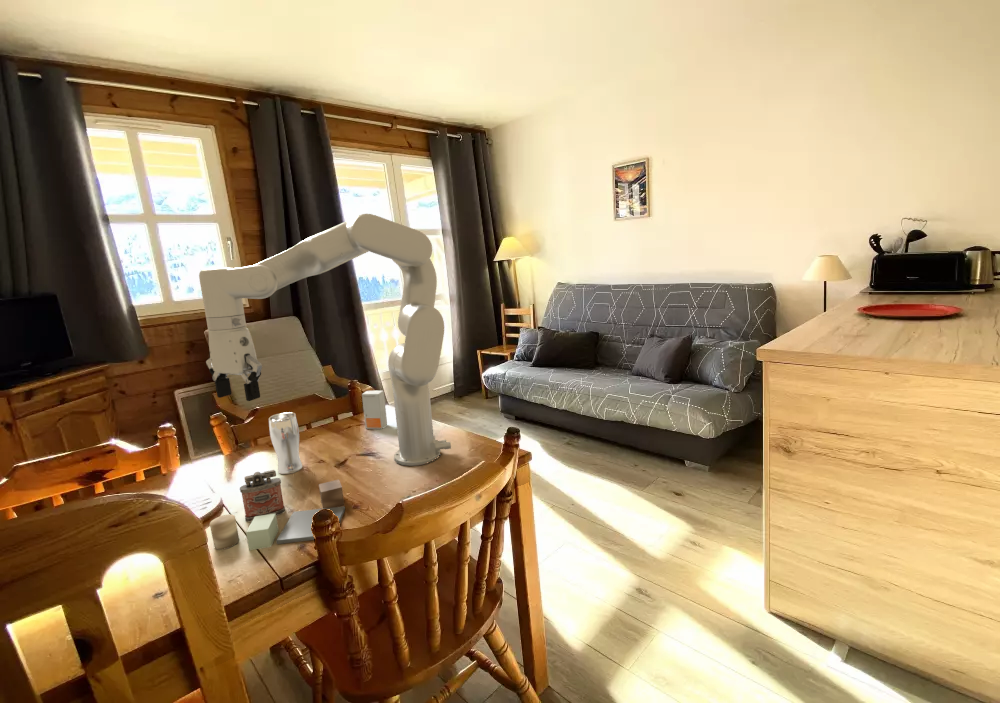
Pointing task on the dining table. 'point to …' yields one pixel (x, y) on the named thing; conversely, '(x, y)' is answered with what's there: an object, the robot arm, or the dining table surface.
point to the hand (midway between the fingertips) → (238, 397)
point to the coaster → (303, 525)
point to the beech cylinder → (224, 532)
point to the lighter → (262, 495)
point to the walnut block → (331, 494)
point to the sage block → (262, 531)
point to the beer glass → (285, 441)
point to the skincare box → (374, 409)
